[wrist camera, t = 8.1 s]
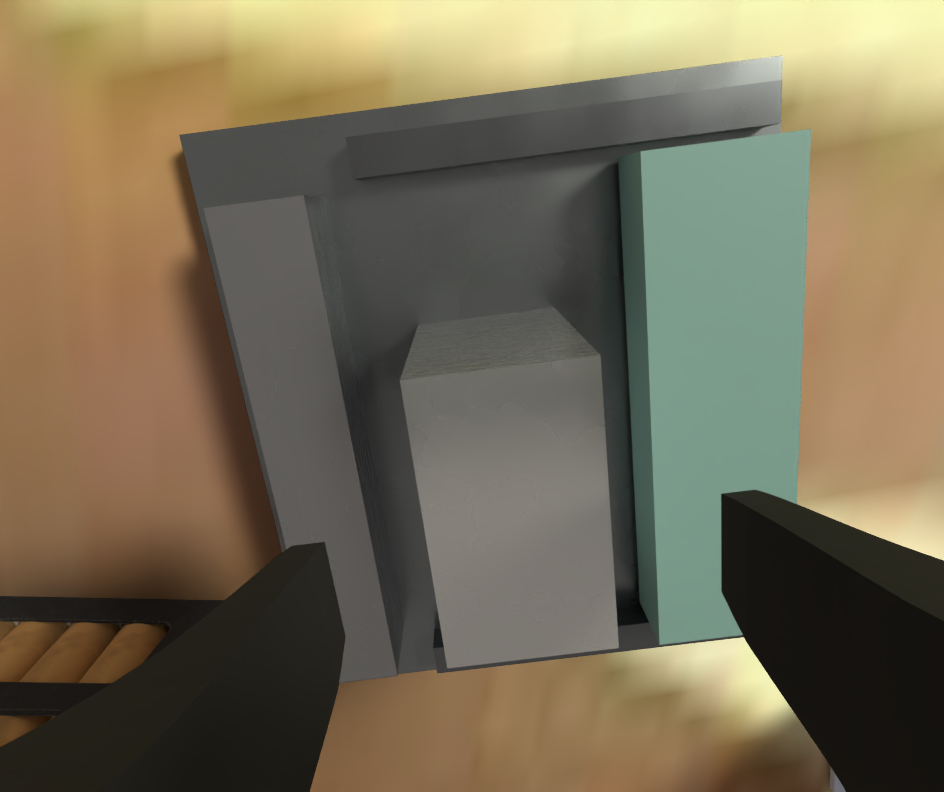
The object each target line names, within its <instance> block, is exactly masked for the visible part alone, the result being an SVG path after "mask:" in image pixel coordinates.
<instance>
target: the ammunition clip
mask: <svg viewBox="0 0 944 792" xmlns="http://www.w3.org/2000/svg"><path fill="white" fill-rule="evenodd" d="M222 602H224V601H223V600H170V599H118V598H65V597H12V596H0V747H1V746H3V745H5V744H7V743H9V742H11V741H12V740H14V739H16V738H18V737H20V736H22V735H24V734H26V733H28V732H29V731H31V730H33V729H35V728H36V727H38V726H40V725H42V724H43V723H45V722H47V721H49V720H50V719H52V718H54V717H56V716H57V715H59V714H61V713H63V712H64V711H66V710H68V709H70V708H71V707H73V706H75V705H77V704H78V703H80V702H82V701H84V700H85V699H87V698H89V697H91V696H92V695H94V694H96V693H97V692H99V691H100V690H102V689H104V688H105V687H107V686H108V685H110V684H112V683H113V682H115V681H116V680H118V679H119V678H121V677H122V676H124V675H125V674H127V673H128V672H130V671H131V670H133V669H134V668H136V667H138V666H139V665H140V664H142V663H143V662H145V661H146V660H148V659H149V658H151V657H152V656H153V655H155V654H156V653H158V652H159V651H160V650H162V649H163V648H165V647H166V646H167V645H169V644H170V643H171V642H173V641H174V640H175V639H176V638H178V637H179V636H180V635H182V634H183V633H184V632H185V631H187V630H188V629H189V628H191V627H192V626H193V625H195V624H196V623H197V622H198V621H200V620H201V619H202V618H204V617H205V616H206V615H207V614H209V613H210V612H211V611H213V610H214V609H215V608H216V607H218V606H219V605H220V604H221V603H222Z"/></svg>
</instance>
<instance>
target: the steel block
mask: <svg viewBox="0 0 944 792" xmlns="http://www.w3.org/2000/svg"><path fill="white" fill-rule="evenodd" d="M400 385H401V391H402V397H403V403H404V409H405V415H406V422H407V428H408V434H409V440H410V446H411V452H412V458H413V464H414V470H415V476H416V482H417V488H418V494H419V500H420V506H421V512H422V518H423V524H424V530H425V536H426V542H427V549H428V555H429V561H430V567H431V573H432V579H433V585H434V591H435V597H436V603H437V609H438V615H439V621H440V627H441V633H442V639H443V645H444V651H445V657H446V663H447V668H456V667H464V666H473V665H481V664H489V663H498V662H506V661H515V660H523V659H531V658H540V657H548V656H557V655H565V654H573V653H582V652H590V651H599V650H607V649H615V648H619V642H618V626H617V610H616V594H615V578H614V562H613V546H612V530H611V514H610V498H609V482H608V466H607V451H606V435H605V419H604V403H603V387H602V371H601V355H600V354H599V353H598V352H597V351H596V350H595V349H594V348H593V347H592V346H591V345H590V344H589V343H588V342H587V341H586V340H585V339H584V338H583V337H582V336H581V335H580V334H579V333H578V331H577V330H576V329H575V328H574V327H573V326H572V325H571V324H570V323H569V322H568V321H567V320H566V319H565V318H564V317H563V316H562V315H561V314H560V313H559V312H558V311H557V310H556V309H555V308H547V309H539V310H531V311H523V312H515V313H508V314H500V315H492V316H484V317H476V318H468V319H460V320H452V321H445V322H437V323H429V324H421V325H418V327H417V330H416V333H415V336H414V339H413V342H412V345H411V348H410V351H409V354H408V357H407V360H406V363H405V366H404V369H403V372H402V375H401V378H400Z"/></svg>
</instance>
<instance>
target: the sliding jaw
mask: <svg viewBox="0 0 944 792" xmlns="http://www.w3.org/2000/svg"><path fill="white" fill-rule="evenodd" d="M810 145H811V129H808V130H800V131H793V132H785V133H777V134H770V135H762V136H754V137H747V138H739V139H731V140H723V141H716V142H708V143H700V144H693V145H685V146H677V147H670V148H662V149H654V150H647V151H640V152H637V153H633V154H630V155H627V156H623V157H620V158H618V167H619V187H620V208H621V228H622V249H623V269H624V290H625V310H626V331H627V351H628V372H629V392H630V413H631V433H632V453H633V474H634V494H635V515H636V535H637V556H638V576H639V597H640V604H641V606H642V608H643V610H644V612H645V614H646V617H647V619H648V621H649V623H650V625H651V627H652V630H653V632H654V634H655V636H656V638H657V640H658V643H659V645H663V644H671V643H680V642H688V641H696V640H705V639H713V638H722V637H730V636H739V635H743V634H742V632H741V630H740V628H739V626H738V625H737V623H736V621H735V619H734V617H733V615H732V612H731V610H730V608H729V606H728V604H727V602H726V600H725V598H724V596H723V594H722V592H721V494H723V493H731V492H739V491H747V490H759V491H762V492H766V493H768V494H771V495H774V496H777V497H780V498H782V499H785V500H787V501H790V502H792V503H795V504H797V482H798V456H799V430H800V405H801V379H802V353H803V327H804V301H805V275H806V249H807V223H808V197H809V171H810Z"/></svg>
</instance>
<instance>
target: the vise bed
mask: <svg viewBox="0 0 944 792" xmlns="http://www.w3.org/2000/svg"><path fill="white" fill-rule="evenodd" d="M782 60H783V55H782V56H775V57H767V58H760V59H752V60H744V61H737V62H729V63H722V64H714V65H706V66H699V67H691V68H684V69H676V70H669V71H661V72H653V73H646V74H638V75H631V76H623V77H615V78H608V79H600V80H593V81H585V82H578V83H570V84H562V85H555V86H547V87H540V88H532V89H524V90H517V91H509V92H502V93H494V94H487V95H479V96H471V97H464V98H456V99H449V100H441V101H433V102H426V103H418V104H411V105H403V106H396V107H388V108H380V109H373V110H365V111H358V112H350V113H342V114H335V115H327V116H320V117H312V118H305V119H297V120H289V121H282V122H274V123H267V124H259V125H252V126H244V127H236V128H229V129H221V130H214V131H206V132H198V133H191V134H183V135H180V140H181V144H182V148H183V152H184V156H185V160H186V164H187V168H188V172H189V176H190V180H191V184H192V188H193V192H194V196H195V201H196V205H197V209H198V213H199V217H200V221H201V225H202V229H203V233H204V237H205V241H206V245H207V249H208V253H209V257H210V262H211V266H212V270H213V274H214V278H215V282H216V286H217V290H218V294H219V298H220V302H221V306H222V310H223V314H224V318H225V322H226V327H227V331H228V335H229V339H230V343H231V347H232V351H233V355H234V359H235V363H236V367H237V371H238V375H239V379H240V383H241V388H242V392H243V396H244V400H245V404H246V408H247V412H248V416H249V420H250V424H251V428H252V432H253V436H254V440H255V444H256V449H257V453H258V457H259V461H260V465H261V469H262V473H263V477H264V481H265V485H266V489H267V493H268V497H269V501H270V505H271V510H272V514H273V518H274V522H275V526H276V530H277V534H278V538H279V542H280V546H281V550H282V552H284V551H285V550H286V549H288V548H289V547H291V546H294V545H302V544H310V543H319V542H325V545H326V550H327V554H328V559H329V563H330V568H331V572H332V577H333V581H334V586H335V590H336V595H337V600H338V604H339V609H340V613H341V618H342V622H343V627H344V631H345V636H346V637H345V644H344V652H343V660H342V667H341V674H340V680H339V683H342V682H351V681H359V680H368V679H376V678H385V677H393V676H398V674H402V673H410V672H418V671H427V670H435V669H437V673H444V672H453V671H461V670H470V669H478V668H487V667H495V666H503V665H512V664H520V663H529V662H537V661H546V660H554V659H563V658H571V657H579V656H588V655H596V654H605V653H613V652H622V651H630V650H638V649H647V648H655V647H664V646H672V645H681V644H689V643H697V642H706V641H714V640H723V639H731V638H740V637H744V636H743V635H739V636H730V637H722V638H713V639H705V640H696V641H688V642H680V643H671V644H663V645H659V643H658V640H657V638H656V636H655V634H654V632H653V630H652V627H651V625H650V623H649V621H648V619H647V617H646V614H645V612H644V610H643V608H642V606H641V604H640V597H639V576H638V556H637V535H636V515H635V494H634V474H633V453H632V433H631V413H630V392H629V372H628V351H627V331H626V310H625V290H624V269H623V249H622V228H621V208H620V187H619V167H618V158H620V157H623V156H627V155H630V154H633V153H637V152H640V151H647V150H654V149H662V148H670V147H677V146H685V145H693V144H700V143H708V142H716V141H723V140H731V139H739V138H747V137H754V136H762V135H770V134H777V133H781V107H782ZM547 308H555V309H556V310H557V311H558V312H559V313H560V314H561V315H562V316H563V317H564V318H565V319H566V320H567V321H568V322H569V323H570V324H571V325H572V326H573V327H574V328H575V329H576V330H577V331H578V333H579V334H580V335H581V336H582V337H583V338H584V339H585V340H586V341H587V342H588V343H589V344H590V345H591V346H592V347H593V348H594V349H595V350H596V351H597V352H598V353H599V354H600V355H601V371H602V387H603V403H604V419H605V435H606V451H607V466H608V482H609V498H610V514H611V530H612V546H613V562H614V578H615V594H616V610H617V626H618V642H619V648H615V649H607V650H599V651H590V652H582V653H573V654H565V655H557V656H548V657H540V658H531V659H523V660H515V661H506V662H498V663H489V664H481V665H473V666H464V667H456V668H447V663H446V657H445V651H444V645H443V639H442V633H441V627H440V621H439V615H438V609H437V603H436V597H435V591H434V585H433V579H432V573H431V567H430V561H429V555H428V549H427V542H426V536H425V530H424V524H423V518H422V512H421V506H420V500H419V494H418V488H417V482H416V476H415V470H414V464H413V458H412V452H411V446H410V440H409V434H408V428H407V422H406V415H405V409H404V403H403V397H402V391H401V385H400V378H401V375H402V372H403V369H404V366H405V363H406V360H407V357H408V354H409V351H410V348H411V345H412V342H413V339H414V336H415V333H416V330H417V327H418V325H421V324H429V323H437V322H445V321H452V320H460V319H468V318H476V317H484V316H492V315H500V314H508V313H515V312H523V311H531V310H539V309H547Z"/></svg>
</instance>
